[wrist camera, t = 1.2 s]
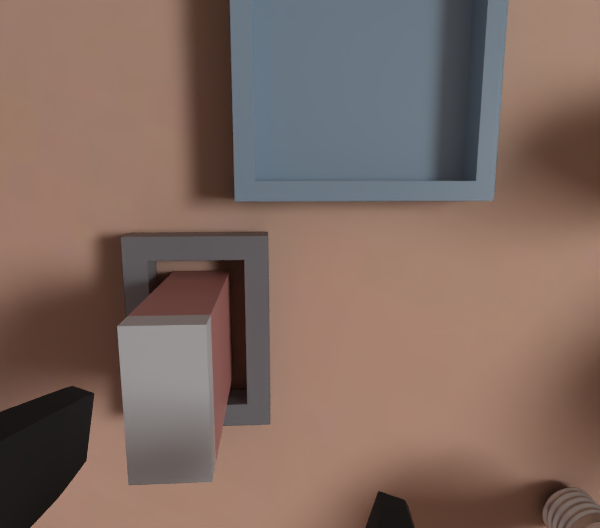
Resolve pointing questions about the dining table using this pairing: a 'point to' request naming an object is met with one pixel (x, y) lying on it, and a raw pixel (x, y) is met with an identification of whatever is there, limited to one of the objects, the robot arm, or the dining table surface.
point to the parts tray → (366, 99)
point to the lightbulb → (571, 510)
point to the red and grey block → (176, 378)
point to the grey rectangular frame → (254, 251)
